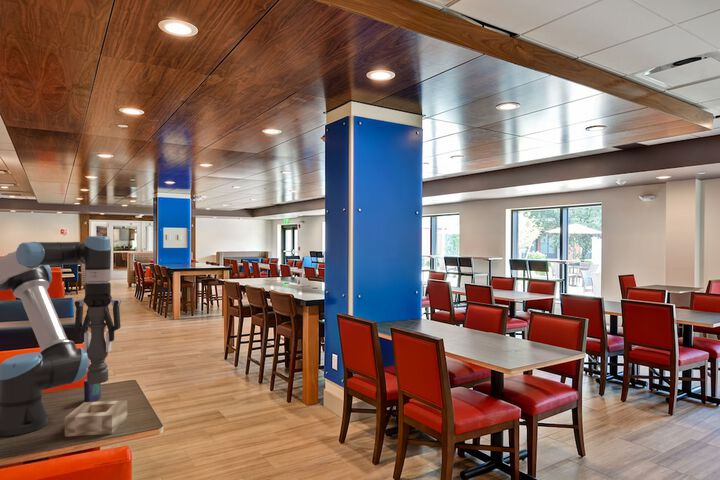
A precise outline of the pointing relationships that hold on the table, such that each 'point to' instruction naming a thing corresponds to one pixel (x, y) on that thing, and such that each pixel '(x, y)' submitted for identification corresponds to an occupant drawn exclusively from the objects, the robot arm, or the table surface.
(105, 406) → the socket block
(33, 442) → the table surface
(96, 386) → the flask
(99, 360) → the candle holder
